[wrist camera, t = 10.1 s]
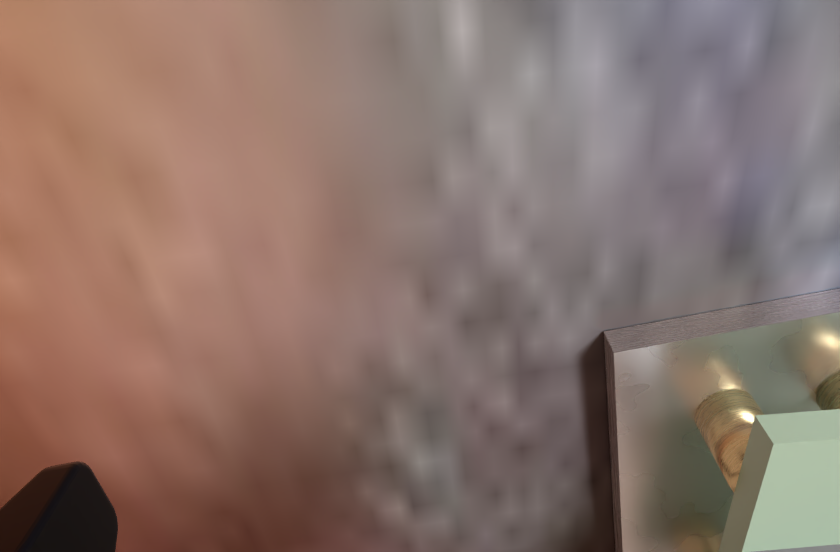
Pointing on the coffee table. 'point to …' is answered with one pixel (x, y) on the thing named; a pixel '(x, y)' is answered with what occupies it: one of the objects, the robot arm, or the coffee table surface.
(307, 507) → the coffee table surface
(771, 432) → the grey block
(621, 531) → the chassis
